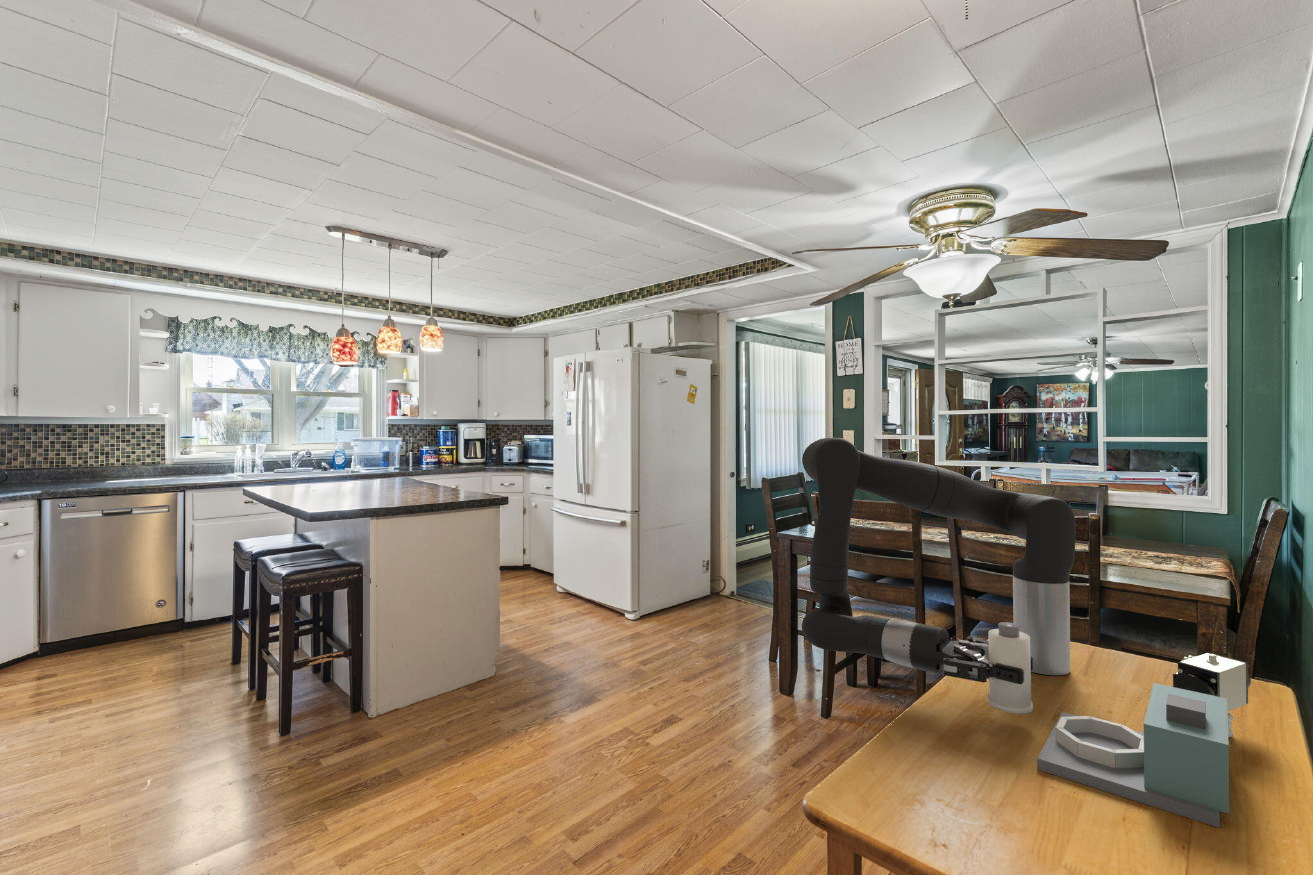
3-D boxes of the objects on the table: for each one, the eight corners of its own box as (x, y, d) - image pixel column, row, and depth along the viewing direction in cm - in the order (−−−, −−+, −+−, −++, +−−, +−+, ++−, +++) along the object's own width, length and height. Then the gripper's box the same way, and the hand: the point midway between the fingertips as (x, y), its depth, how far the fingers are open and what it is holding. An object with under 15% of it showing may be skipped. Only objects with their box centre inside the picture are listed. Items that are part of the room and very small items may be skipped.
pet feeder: (1062, 719, 94) (1062, 647, 94) (1227, 763, 82) (1226, 679, 81) (1037, 769, 81) (1036, 684, 81) (1229, 831, 68) (1228, 730, 68)
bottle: (993, 692, 97) (992, 616, 97) (1036, 703, 93) (1035, 624, 93) (983, 705, 93) (981, 626, 93) (1027, 717, 89) (1026, 634, 89)
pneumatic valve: (1253, 733, 90) (1252, 653, 89) (1212, 751, 85) (1212, 667, 85) (1206, 717, 95) (1206, 642, 95) (1166, 733, 90) (1165, 654, 90)
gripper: (898, 634, 97) (1016, 660, 86) (929, 613, 108) (1038, 633, 96) (899, 680, 98) (1017, 711, 86) (930, 654, 108) (1039, 679, 96)
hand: (1027, 670), depth 91 cm, fingers closed on bottle, 5 cm apart
